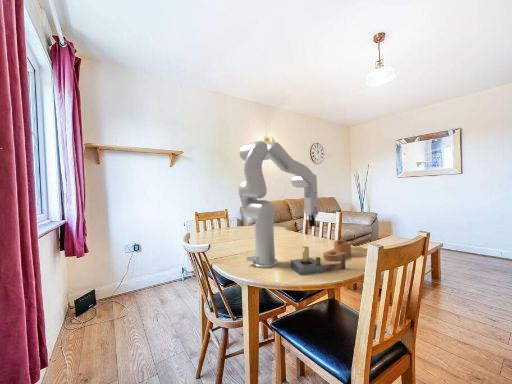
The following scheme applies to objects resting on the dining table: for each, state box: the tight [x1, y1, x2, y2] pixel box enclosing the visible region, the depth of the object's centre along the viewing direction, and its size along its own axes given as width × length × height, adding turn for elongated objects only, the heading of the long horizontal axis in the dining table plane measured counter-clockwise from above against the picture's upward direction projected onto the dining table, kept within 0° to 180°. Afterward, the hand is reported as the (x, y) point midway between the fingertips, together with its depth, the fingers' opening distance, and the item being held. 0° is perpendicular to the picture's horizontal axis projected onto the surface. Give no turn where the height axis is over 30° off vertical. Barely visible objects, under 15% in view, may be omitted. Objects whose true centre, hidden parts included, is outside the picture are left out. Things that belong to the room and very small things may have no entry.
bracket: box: [323, 239, 352, 262], centre depth 122 cm, size 18×8×7 cm, turn 128°
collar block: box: [290, 257, 324, 276], centre depth 106 cm, size 11×11×3 cm
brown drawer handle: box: [315, 254, 347, 272], centre depth 104 cm, size 14×2×6 cm, turn 101°
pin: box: [302, 246, 310, 265], centre depth 106 cm, size 3×3×10 cm
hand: (312, 226), depth 138 cm, fingers closed
